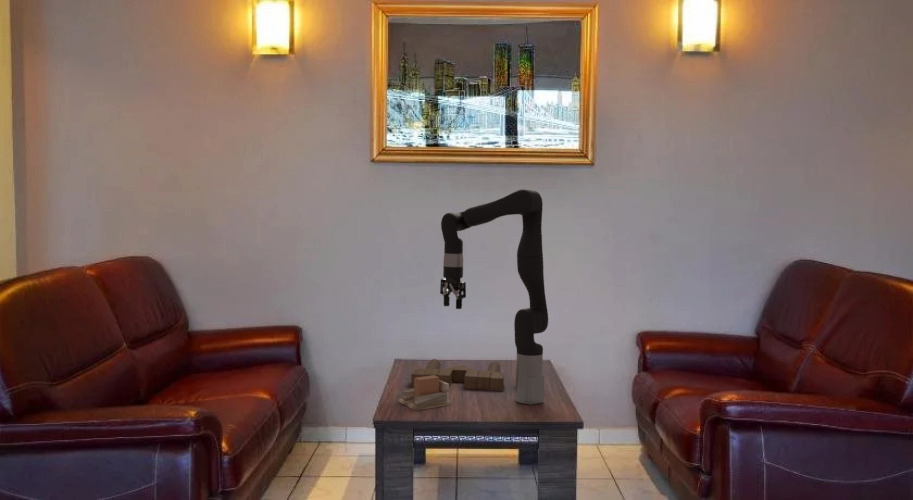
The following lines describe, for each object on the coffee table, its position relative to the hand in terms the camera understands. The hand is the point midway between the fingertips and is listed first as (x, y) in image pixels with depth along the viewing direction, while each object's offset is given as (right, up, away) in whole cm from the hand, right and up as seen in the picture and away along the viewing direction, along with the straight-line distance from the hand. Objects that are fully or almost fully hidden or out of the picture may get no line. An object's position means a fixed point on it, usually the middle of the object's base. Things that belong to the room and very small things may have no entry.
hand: (452, 307), depth 264 cm
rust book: (-9, -30, -23) cm, 39 cm away
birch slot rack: (-10, -31, -23) cm, 40 cm away
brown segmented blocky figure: (+3, -30, +12) cm, 33 cm away
